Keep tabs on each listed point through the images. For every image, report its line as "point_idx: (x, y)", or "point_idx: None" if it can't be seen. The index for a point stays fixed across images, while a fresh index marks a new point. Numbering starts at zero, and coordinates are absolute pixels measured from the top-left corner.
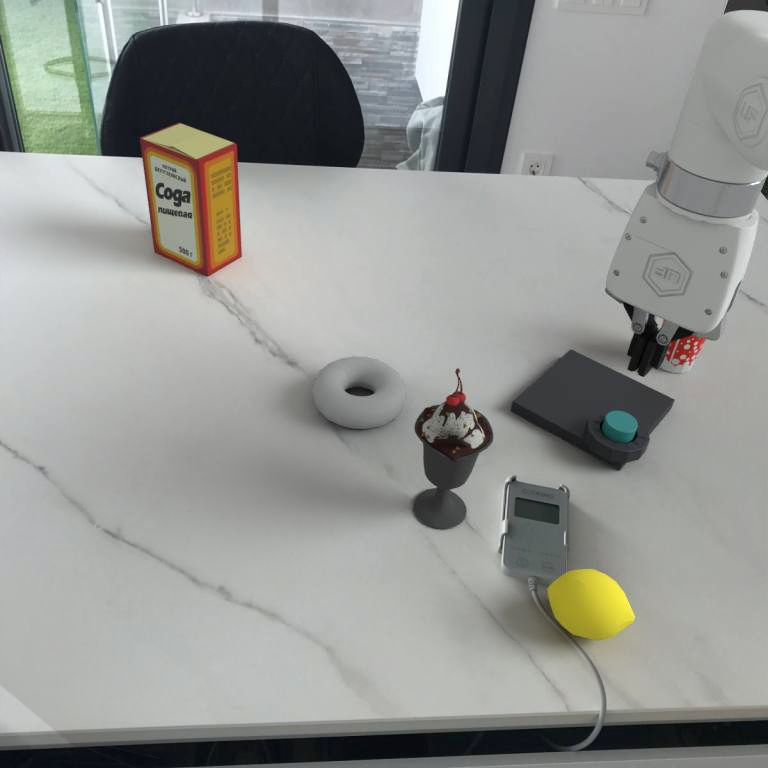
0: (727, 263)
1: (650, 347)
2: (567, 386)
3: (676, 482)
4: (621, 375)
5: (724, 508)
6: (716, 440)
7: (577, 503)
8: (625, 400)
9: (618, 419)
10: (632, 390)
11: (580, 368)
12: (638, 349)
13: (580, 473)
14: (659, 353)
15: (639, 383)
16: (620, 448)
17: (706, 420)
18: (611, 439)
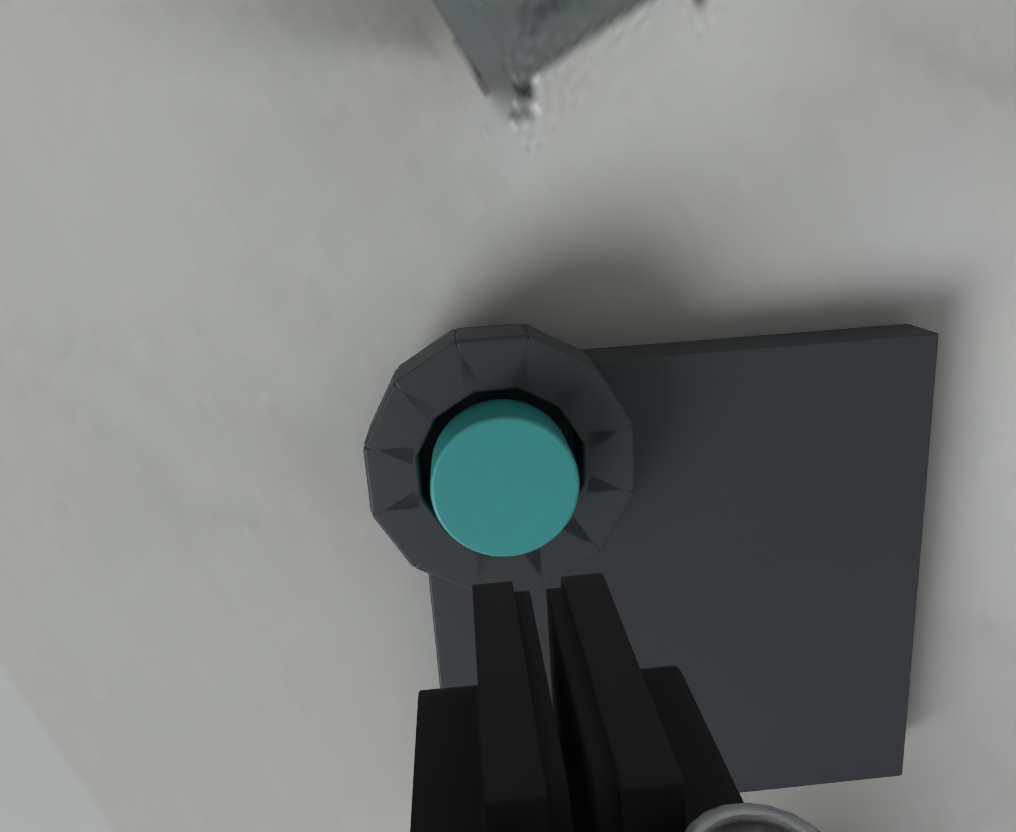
0: None
1: (515, 754)
2: (804, 582)
3: (229, 474)
4: None
5: (34, 489)
6: (252, 768)
7: (430, 68)
8: None
9: (521, 486)
10: None
11: (816, 708)
12: (608, 693)
13: (513, 231)
14: (437, 782)
15: None
16: (431, 371)
17: (333, 828)
18: (494, 401)
